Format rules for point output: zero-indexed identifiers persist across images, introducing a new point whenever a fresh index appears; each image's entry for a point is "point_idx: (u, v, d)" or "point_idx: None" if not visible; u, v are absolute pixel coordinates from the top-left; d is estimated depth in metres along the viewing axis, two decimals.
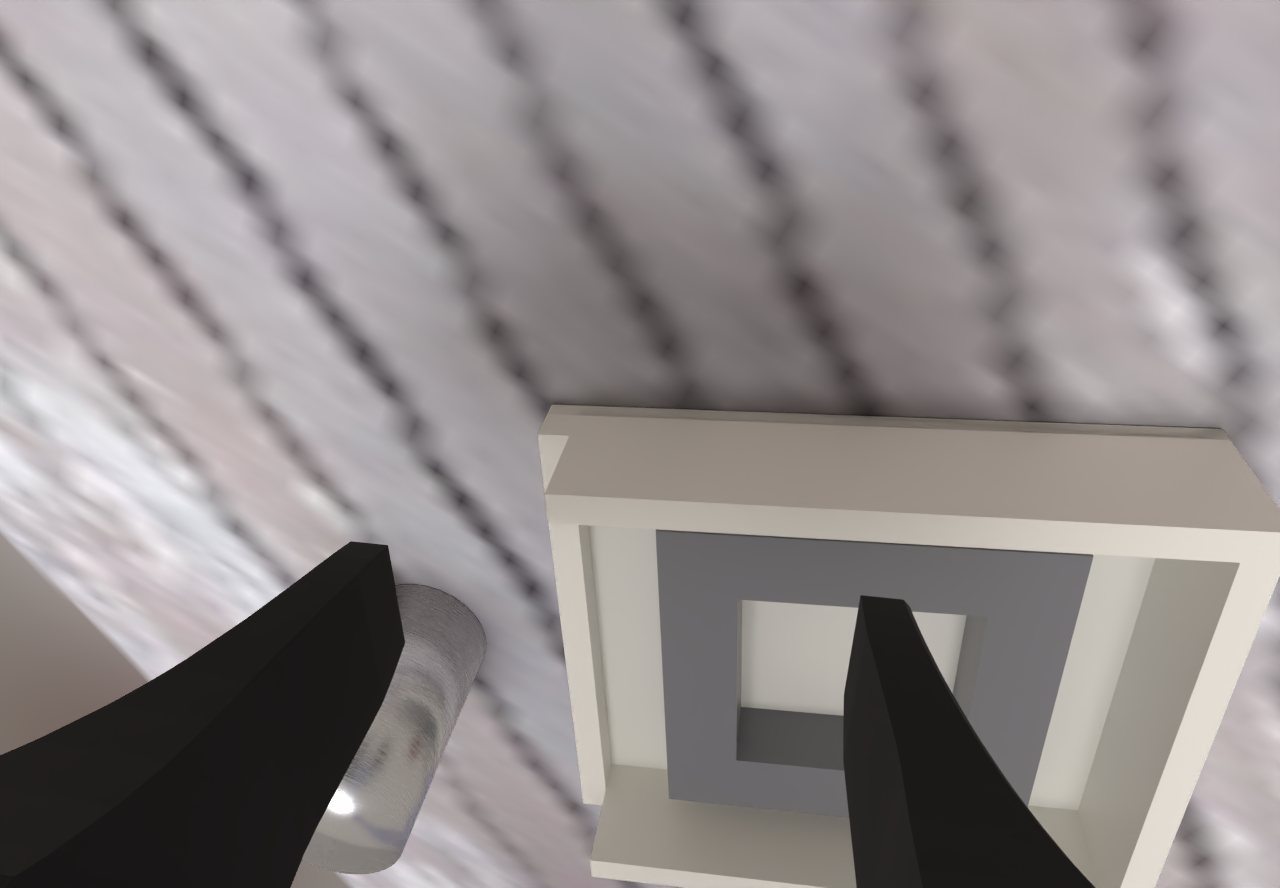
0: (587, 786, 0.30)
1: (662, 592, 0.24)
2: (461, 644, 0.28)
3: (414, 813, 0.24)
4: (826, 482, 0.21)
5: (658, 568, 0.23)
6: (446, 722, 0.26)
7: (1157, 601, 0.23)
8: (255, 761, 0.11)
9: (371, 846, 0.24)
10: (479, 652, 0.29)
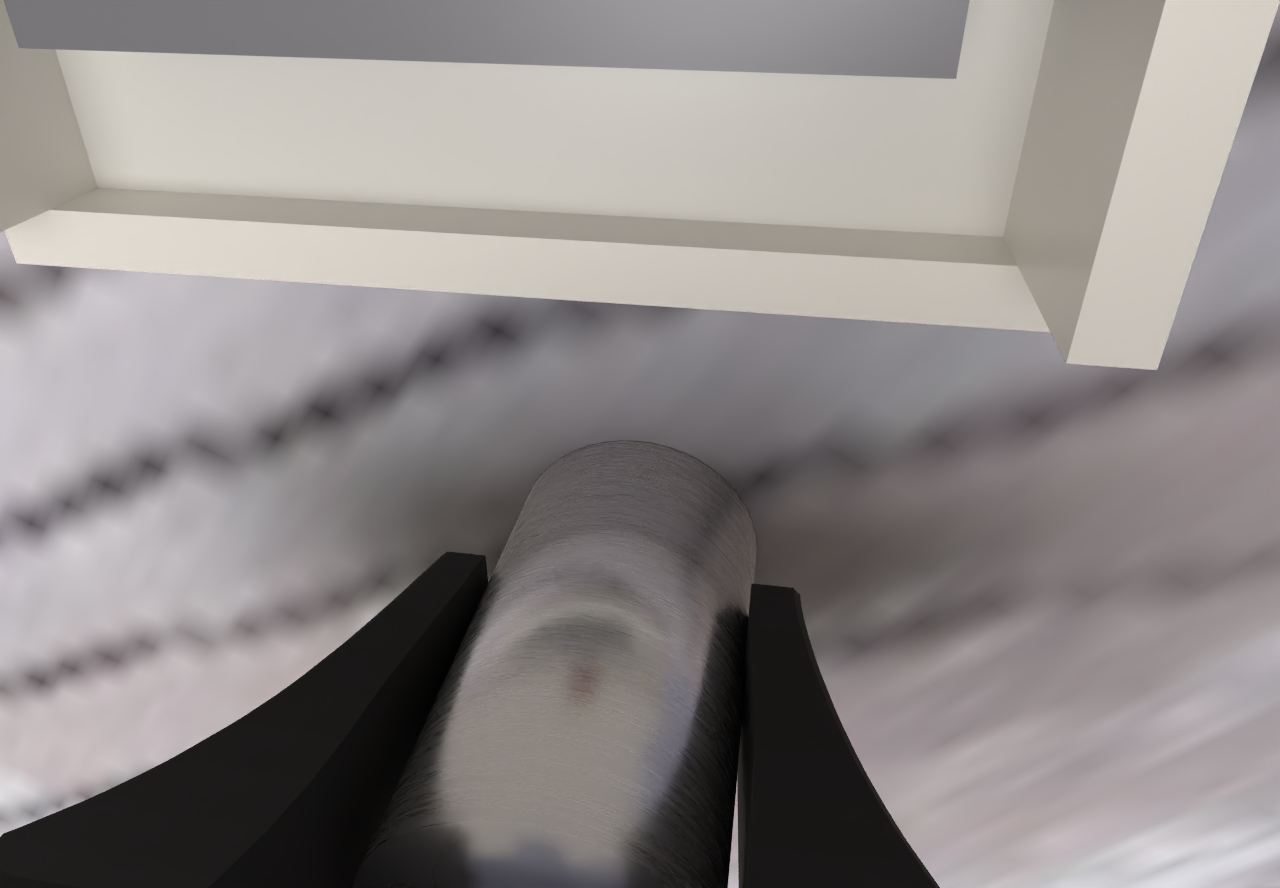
0: (1000, 312, 0.11)
1: (178, 43, 0.10)
2: (563, 493, 0.14)
3: (561, 766, 0.09)
4: None
5: (115, 48, 0.10)
6: (575, 589, 0.12)
7: None
8: (376, 778, 0.11)
9: None
10: (629, 463, 0.14)
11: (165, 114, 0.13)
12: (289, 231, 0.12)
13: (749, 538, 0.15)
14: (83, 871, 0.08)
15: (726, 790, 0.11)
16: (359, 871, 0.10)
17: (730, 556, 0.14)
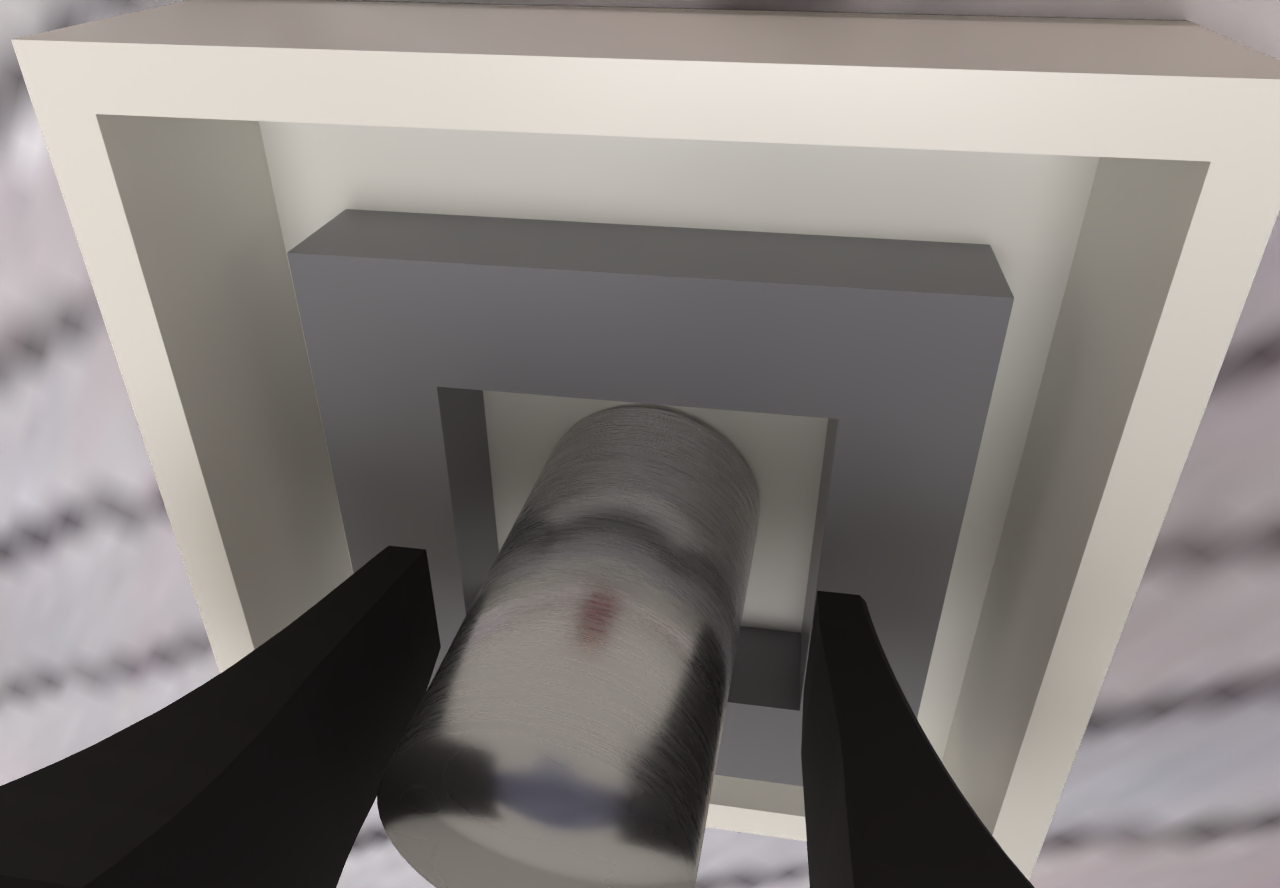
0: None
1: None
2: (576, 454, 0.15)
3: (555, 688, 0.11)
4: None
5: None
6: (581, 539, 0.13)
7: None
8: (303, 768, 0.11)
9: (581, 801, 0.11)
10: (638, 427, 0.15)
11: None
12: None
13: (751, 498, 0.16)
14: None
15: (710, 719, 0.12)
16: (383, 776, 0.11)
17: (729, 514, 0.15)
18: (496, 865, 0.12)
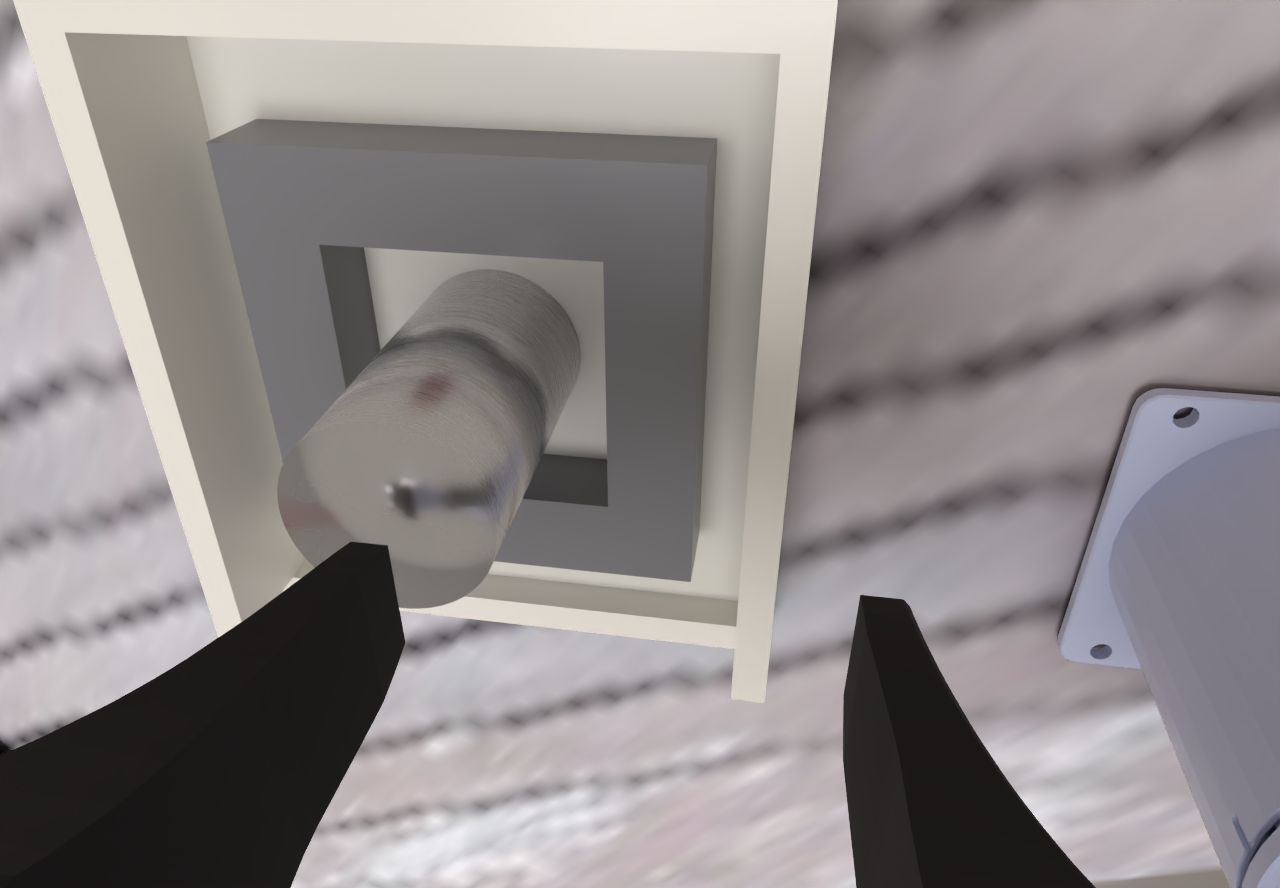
0: (733, 643, 0.25)
1: None
2: (432, 298, 0.20)
3: (395, 402, 0.16)
4: None
5: None
6: (425, 335, 0.18)
7: None
8: (255, 761, 0.11)
9: (413, 474, 0.16)
10: (479, 279, 0.21)
11: None
12: None
13: (568, 334, 0.21)
14: None
15: (514, 444, 0.17)
16: (280, 475, 0.16)
17: (545, 335, 0.20)
18: None
